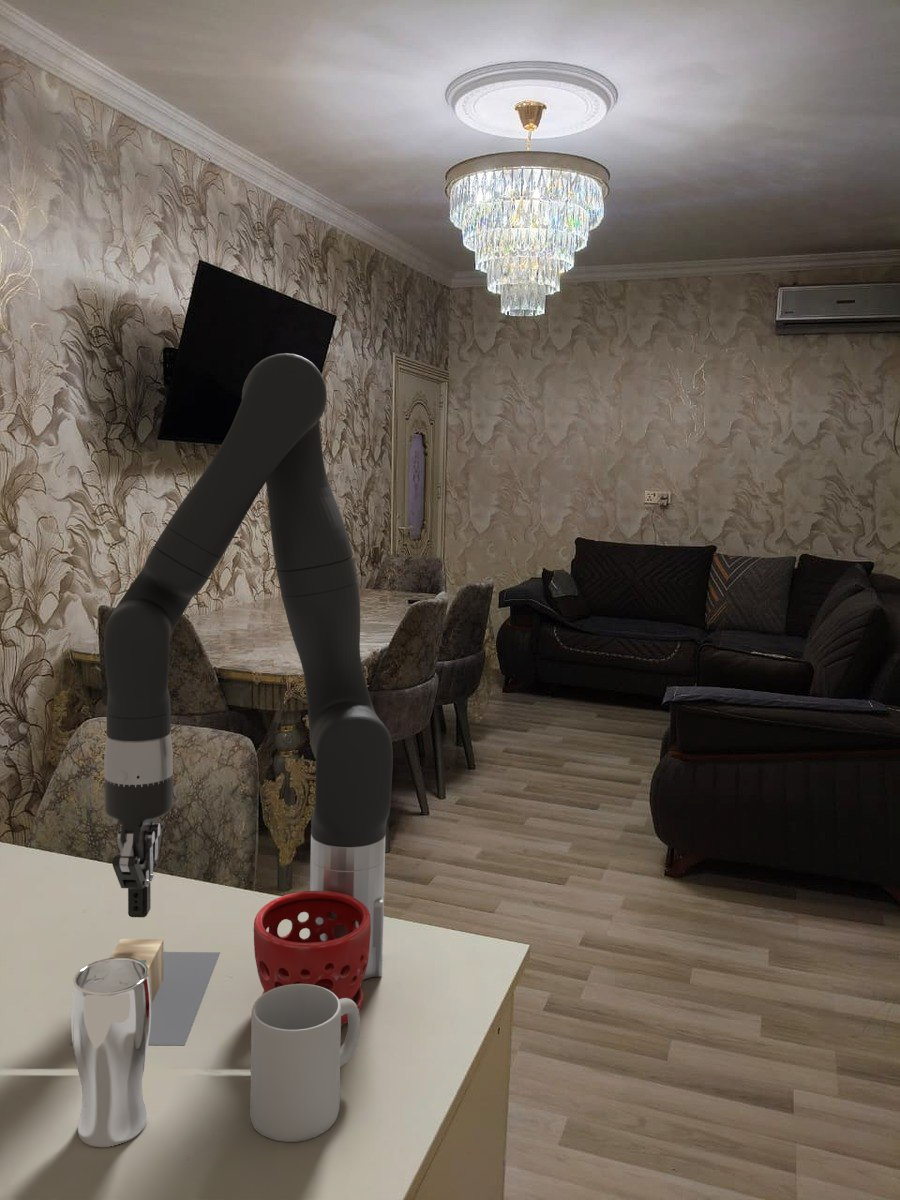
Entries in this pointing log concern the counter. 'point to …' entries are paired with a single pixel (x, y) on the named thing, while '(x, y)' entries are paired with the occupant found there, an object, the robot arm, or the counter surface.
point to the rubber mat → (179, 995)
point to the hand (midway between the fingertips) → (139, 914)
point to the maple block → (144, 958)
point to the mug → (298, 1060)
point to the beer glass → (111, 1048)
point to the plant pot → (314, 944)
